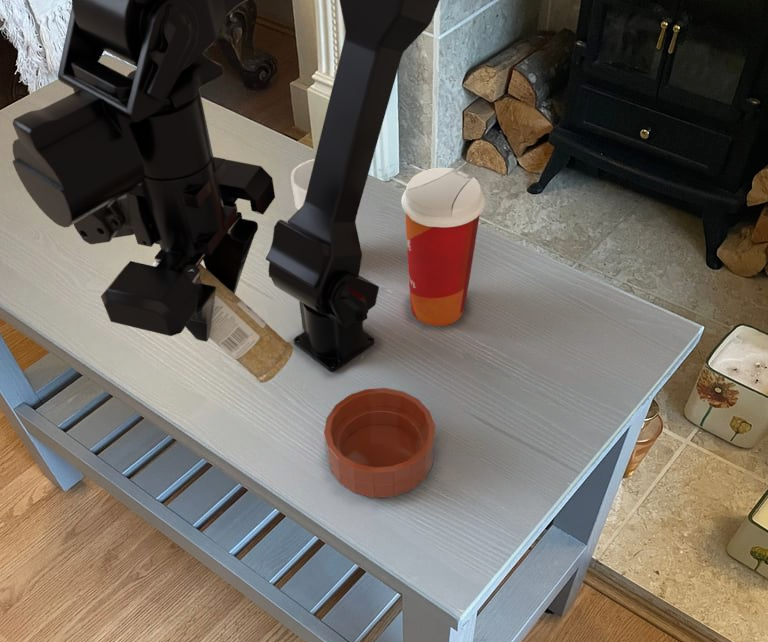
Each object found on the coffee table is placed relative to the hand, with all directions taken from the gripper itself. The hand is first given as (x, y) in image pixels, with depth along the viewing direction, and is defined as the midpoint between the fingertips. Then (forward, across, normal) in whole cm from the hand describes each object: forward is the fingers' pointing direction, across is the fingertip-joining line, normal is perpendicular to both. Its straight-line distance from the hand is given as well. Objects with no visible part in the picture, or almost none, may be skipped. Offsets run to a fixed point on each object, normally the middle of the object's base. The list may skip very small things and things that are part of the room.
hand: (214, 321), depth 71 cm
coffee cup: (+13, -22, +14) cm, 29 cm away
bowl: (+13, 0, +15) cm, 20 cm away
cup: (+13, -26, 0) cm, 29 cm away
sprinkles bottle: (+4, 0, +6) cm, 7 cm away
